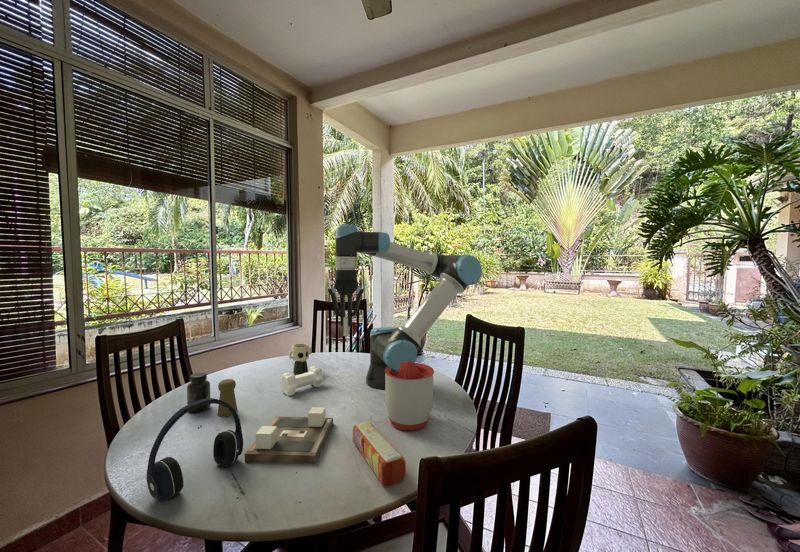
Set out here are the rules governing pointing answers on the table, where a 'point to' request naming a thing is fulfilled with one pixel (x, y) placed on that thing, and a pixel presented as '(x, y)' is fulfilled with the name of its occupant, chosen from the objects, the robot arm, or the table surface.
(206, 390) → the supplement bottle
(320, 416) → the tab far
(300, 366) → the character mug
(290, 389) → the bone shaped toy
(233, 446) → the headphones
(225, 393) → the cork
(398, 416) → the citrus juicer
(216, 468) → the table surface
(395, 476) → the snack package
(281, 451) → the brown wooden tray
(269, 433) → the cream cube
